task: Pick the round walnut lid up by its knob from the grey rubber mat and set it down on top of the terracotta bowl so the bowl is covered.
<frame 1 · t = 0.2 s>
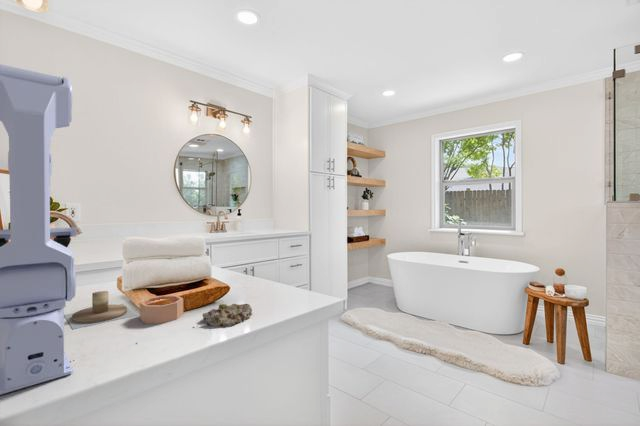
hand: (32, 273, 65), 10 cm above the counter, fingers open, 7 cm apart
mineral rock: (229, 321, 67), on the counter
bowl: (162, 319, 67), on the counter
lid: (100, 315, 68), resting on mat
mat: (100, 317, 68), on the counter
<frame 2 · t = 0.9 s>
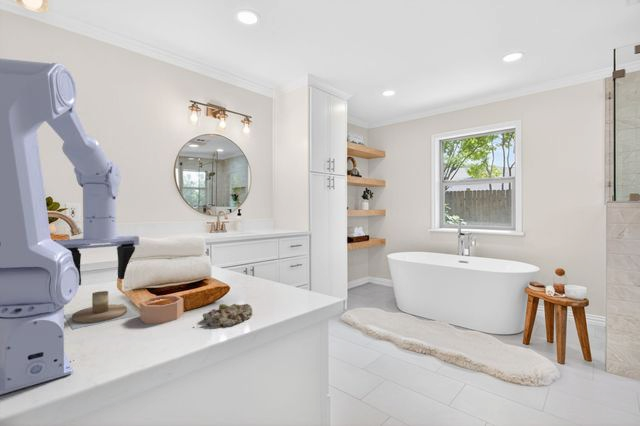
hand: (100, 281, 68), 8 cm above the counter, fingers open, 7 cm apart
nothing on the counter moved.
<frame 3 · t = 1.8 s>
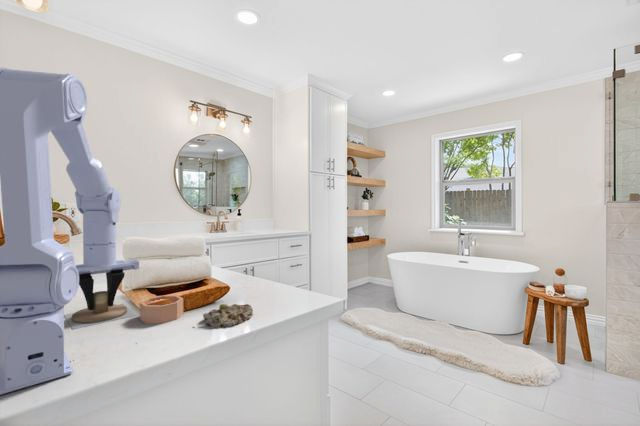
hand: (100, 307, 68), 2 cm above the counter, fingers closed on lid, 3 cm apart
lid: (100, 315, 68), resting on mat, touching gripper
everything else where it was.
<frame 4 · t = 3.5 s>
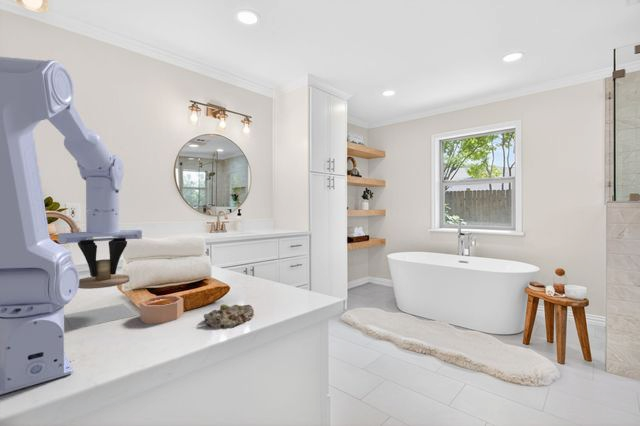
hand: (103, 274, 67), 9 cm above the counter, fingers closed on lid, 3 cm apart
lid: (103, 282, 67), point 7 cm above the counter, touching gripper
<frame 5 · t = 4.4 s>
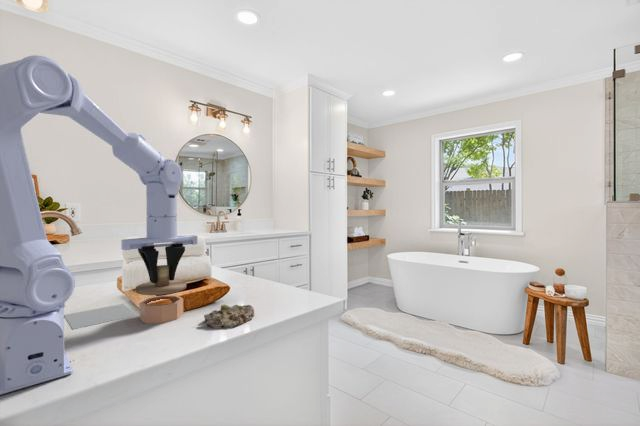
hand: (162, 280, 67), 8 cm above the counter, fingers closed on lid, 3 cm apart
lid: (161, 288, 67), point 6 cm above the counter, touching gripper
when the fingers open (7 cm above the counter, at t = 4.9 s): lid drops 1 cm, resting on bowl.
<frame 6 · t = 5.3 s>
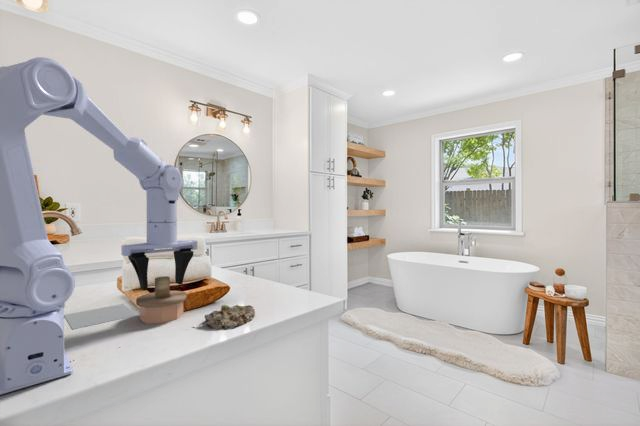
hand: (162, 286, 67), 7 cm above the counter, fingers open, 6 cm apart
bowl: (162, 319, 67), on the counter, touching lid
lid: (162, 300, 67), point 4 cm above the counter, touching bowl
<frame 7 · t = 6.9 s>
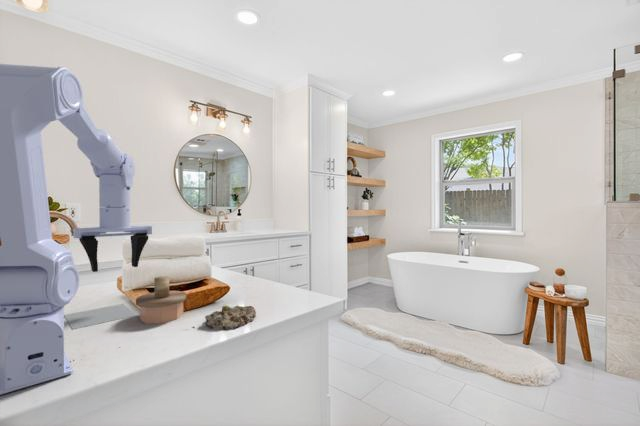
hand: (115, 268, 70), 10 cm above the counter, fingers open, 7 cm apart
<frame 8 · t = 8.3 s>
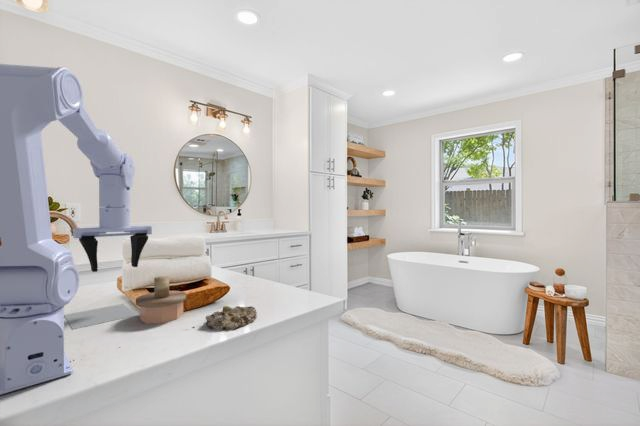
hand: (115, 268, 70), 10 cm above the counter, fingers open, 7 cm apart
at the end: lid 0.1 cm off-centre on the bowl, point 4.0 cm above the bowl's base; lid tilted 0°; the gripper is holding nothing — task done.
